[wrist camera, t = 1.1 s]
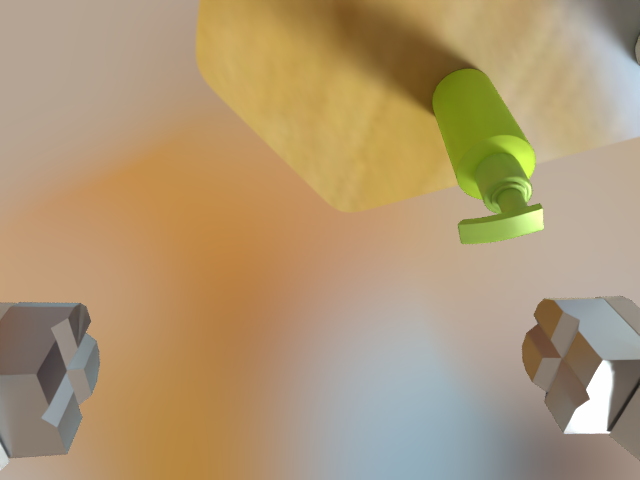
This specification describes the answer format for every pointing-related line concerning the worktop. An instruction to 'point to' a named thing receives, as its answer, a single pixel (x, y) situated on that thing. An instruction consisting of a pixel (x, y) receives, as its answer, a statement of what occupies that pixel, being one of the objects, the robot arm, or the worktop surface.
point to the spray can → (638, 50)
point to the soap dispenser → (487, 157)
